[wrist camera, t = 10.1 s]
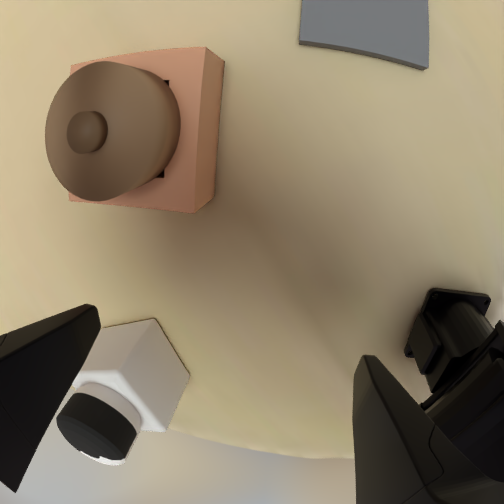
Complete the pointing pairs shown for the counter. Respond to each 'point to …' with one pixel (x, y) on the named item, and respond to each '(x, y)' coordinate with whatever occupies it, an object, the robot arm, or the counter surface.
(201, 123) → the salmon pink square box
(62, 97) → the walnut lid
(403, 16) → the coaster mat
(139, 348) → the medicine bottle
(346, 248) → the counter surface
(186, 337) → the counter surface
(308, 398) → the counter surface
